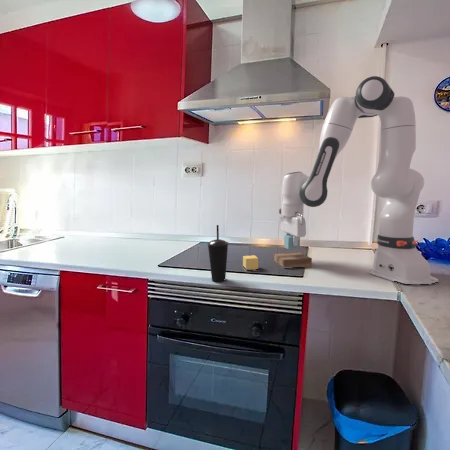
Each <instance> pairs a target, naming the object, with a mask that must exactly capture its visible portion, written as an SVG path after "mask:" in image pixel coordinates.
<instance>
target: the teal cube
mask: <svg viewBox="0 0 450 450" xmlns="http://www.w3.org/2000/svg"><path fill="white" fill-rule="evenodd" d="M293 239H294V238H293V235H292V234H291V235H286V234H284V235H283V247H284V248H285V249H287V250H299V249H301V246H300V244H301V237H299V240H298V245H297V246H294V245H292V241H293Z"/></svg>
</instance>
